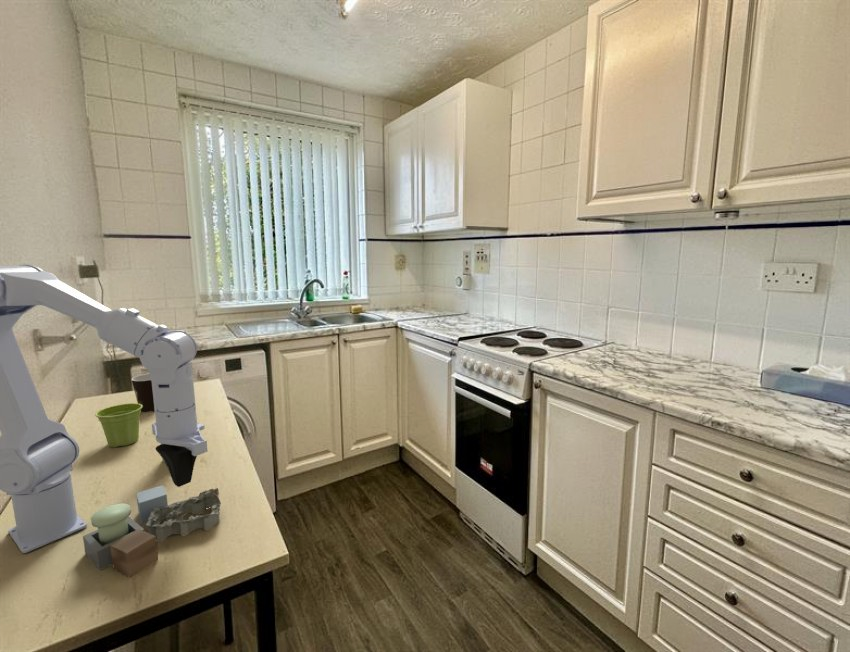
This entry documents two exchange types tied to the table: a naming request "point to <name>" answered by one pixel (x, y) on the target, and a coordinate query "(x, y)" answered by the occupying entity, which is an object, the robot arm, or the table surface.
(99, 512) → the green button
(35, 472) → the robot arm
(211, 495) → the egg carton
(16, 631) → the table surface
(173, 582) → the table surface
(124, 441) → the plant pot
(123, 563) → the walnut block
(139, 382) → the coffee mug
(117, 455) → the table surface
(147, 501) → the slate-blue block
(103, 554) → the button housing
